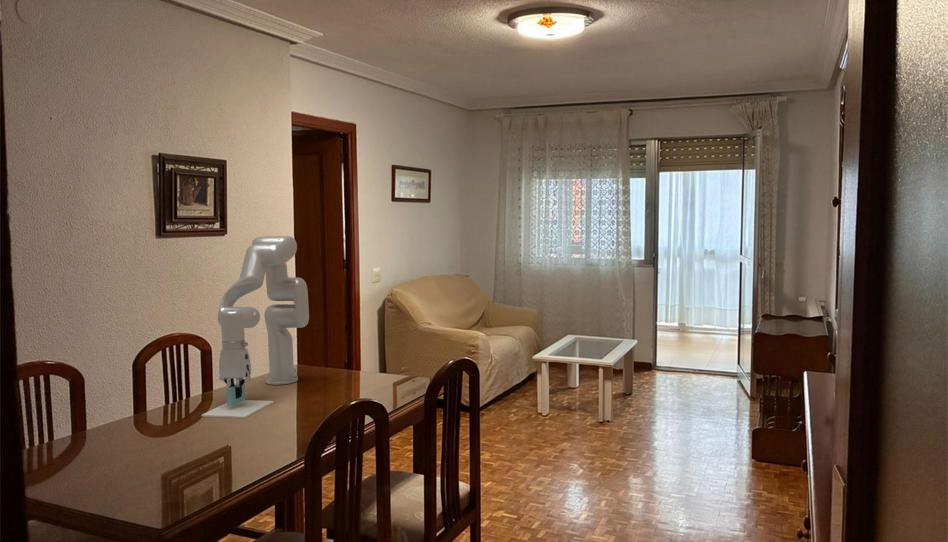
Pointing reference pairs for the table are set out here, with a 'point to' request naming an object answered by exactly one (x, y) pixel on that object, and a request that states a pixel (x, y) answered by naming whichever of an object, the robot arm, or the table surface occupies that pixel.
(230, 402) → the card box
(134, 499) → the table surface
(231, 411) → the mat
